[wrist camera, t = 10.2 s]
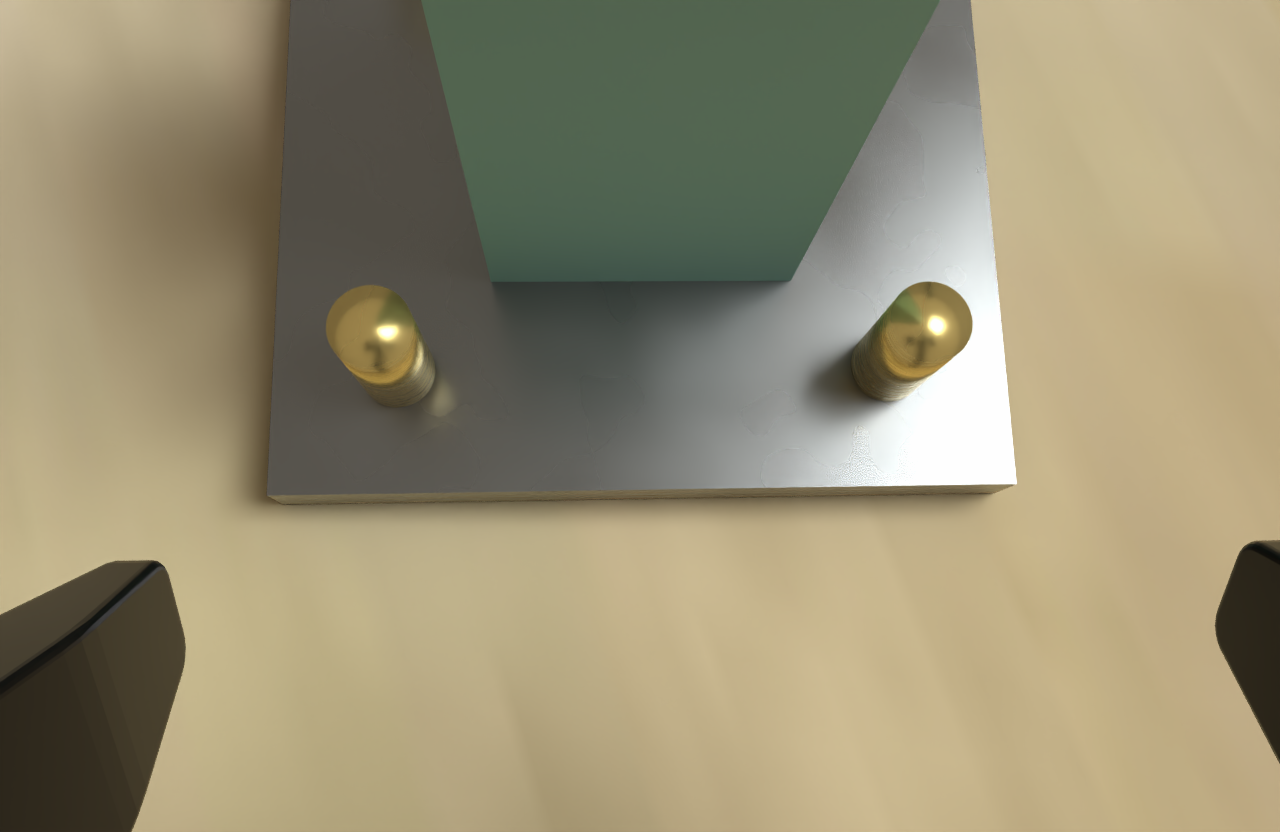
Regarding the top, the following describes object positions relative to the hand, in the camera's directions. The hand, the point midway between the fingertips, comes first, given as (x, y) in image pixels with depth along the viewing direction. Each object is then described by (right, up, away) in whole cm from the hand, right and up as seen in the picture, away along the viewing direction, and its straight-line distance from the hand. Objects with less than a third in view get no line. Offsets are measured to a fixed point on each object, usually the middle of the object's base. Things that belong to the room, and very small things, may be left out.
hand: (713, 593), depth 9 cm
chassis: (-1, +6, +11) cm, 12 cm away
